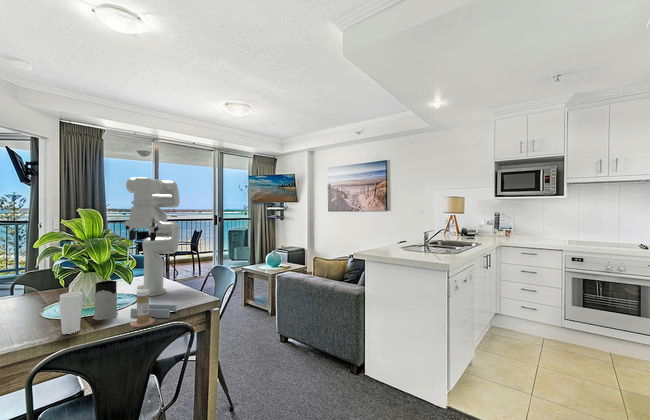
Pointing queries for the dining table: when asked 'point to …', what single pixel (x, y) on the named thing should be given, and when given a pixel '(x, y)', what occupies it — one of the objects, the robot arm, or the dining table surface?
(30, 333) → the dining table surface
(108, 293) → the glass holder
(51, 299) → the dining table surface
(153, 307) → the acrylic walls
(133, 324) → the resting disc
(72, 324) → the drinking glass
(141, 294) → the sprinkles bottle
